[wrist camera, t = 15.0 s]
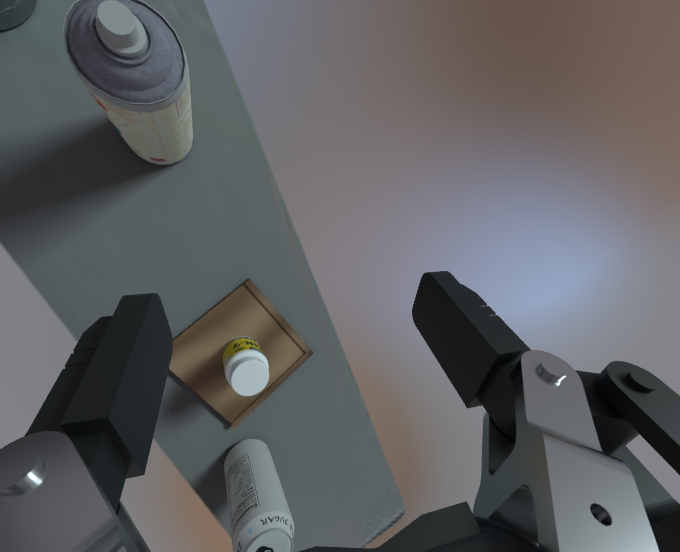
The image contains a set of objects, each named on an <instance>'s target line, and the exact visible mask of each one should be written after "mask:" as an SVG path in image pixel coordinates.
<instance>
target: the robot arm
mask: <svg viewBox="0 0 680 552" xmlns="http://www.w3.org/2000/svg"><path fill="white" fill-rule="evenodd" d="M35 5H36V0H0V30H7V29H10V28H13V27H16V26H18V25H20V24H21V23H23V22H25V21H26V20H27V18H28V17H29V16H30V15H31V14H32V12H33V10H34V7H35ZM412 316H413V320H414V323H415V325H416V327H417V329H418V330H419V332H420V333H421V335H422V337H423V338H424V340H425V341H426V343H427V345H428V346H429V348H430V349H431V351H432V353H433V354H434V356H435V357H436V359H437V360H438V362H439V363H440V365H441V367H442V368H443V370H444V372H445V373H446V375H447V376H448V378H449V379H450V381H451V383H452V384H453V386H454V388H455V389H456V391H457V392H458V394H459V396H460V397H461V399H462V400H463V402H464V403H465V405H466V407H467V408H471V407H476V406H481V405H483V407H484V408H485V410H486V413H485V415H484V417H483V442H482V471H481V473H482V475H481V483H480V487H479V490H478V493H477V496H476V499H475V504H474V509H473V513H472V512H471V509H470V507H469V505H468V503H467V502H463V503H459V504H456V505H453V506H450V507H446V508H443V509H439V510H436V511H433V512H429V513H426V514H423V515H421V516H420V517H418V518H417V519H416V520H414V521H413V522H412V523H410V524H409V525H408V526H406V527H405V528H404V529H403V530H401V531H400V532H399V533H397V534H396V535H394V536H393V537H392V538H391V539H389V540H388V541H387V542H385V543H384V544H383V545H381V546H380V547H377V548H373V549H366V548H342V547H318V546H316V547H313V548H309V549H306V550H303V551H299V552H680V504H679V503H678V502H676V501H675V500H674V499H673V498H672V496H671V495H670V494H669V493H668V492H667V491H666V490H665V489H664V488H663V486H662V485H661V484H660V483H659V482H658V481H657V480H656V479H655V478H654V477H653V475H652V474H650V472H649V471H648V470H647V469H646V468H645V467H644V466H643V465H642V464H641V462H640V461H639V460H638V459H637V458H636V457H635V456H634V455H633V454H632V453H631V452H630V450H629V449H628V448H627V447H626V446H625V445H627V444H628V443H629V442H630V441H632V440H633V439H634V438H635V437H636V436H638V435H639V434H640V435H641V436H642V437H643V438H644V439H645V440H646V441H647V442H648V443H649V444H650V445H651V446H652V447H653V448H654V449H655V450H656V451H657V452H658V453H659V454H660V455H661V456H662V457H663V459H665V461H666V462H668V464H669V465H670V466H671V467H672V468H673V469H674V470H675V471H676V472H677V473H678V474H679V475H680V396H679V395H678V394H677V393H675V392H674V391H673V390H672V389H671V388H669V387H668V386H667V385H666V384H664V383H663V382H662V381H661V380H659V379H658V378H657V377H656V376H654V375H653V374H651V373H650V372H648V371H646V370H644V369H642V368H640V367H638V366H636V365H633V364H630V363H627V362H621V361H615V362H611V363H609V364H608V365H607V366H606V367H605V369H604V370H603V371H602V372H601V373H600V374H598V373H590V372H582V371H575V370H574V369H573V368H572V367H571V366H570V365H569V364H568V363H566V362H565V361H563V360H562V359H560V358H559V357H557V356H555V355H553V354H550V353H548V352H544V351H539V350H531V349H529V347H527V346H526V345H525V344H524V342H523V341H522V340H521V339H520V338H519V337H518V336H517V335H516V334H515V333H514V332H513V331H512V330H511V329H510V328H509V327H508V326H507V325H506V324H505V323H504V321H503V320H502V319H501V318H500V317H499V316H496V314H495V312H494V311H493V310H492V309H491V308H490V307H489V306H488V307H487V304H486V303H485V302H484V301H483V299H482V298H480V296H479V295H478V294H477V293H475V292H474V291H472V290H470V289H469V288H467V287H466V286H464V285H462V284H460V283H459V282H458V281H457V280H456V279H455V278H454V276H453V275H452V274H451V273H449V272H448V271H440V272H428V273H424V274H423V276H422V278H421V281H420V284H419V287H418V291H417V294H416V298H415V301H414V304H413V308H412ZM172 351H173V339H172V333H171V330H170V327H169V324H168V321H167V318H166V314H165V311H164V308H163V305H162V302H161V299H160V297H159V295H158V294H157V293H151V294H138V295H126V296H123V297H122V298H121V300H120V302H119V304H118V306H117V308H116V310H115V312H114V314H113V316H107V317H101V318H99V319H98V320H97V321H96V322H95V323H94V324H93V325H92V326H90V327H89V328H88V329H87V330H86V331H85V332H84V333H83V334H82V336H81V338H80V339H79V341H78V343H77V345H76V347H75V348H74V353H73V354H71V356H70V357H69V359H68V361H67V363H66V364H65V369H63V370H62V371H61V373H60V375H59V377H58V379H57V380H56V382H55V384H54V386H53V388H52V389H51V391H50V393H49V394H48V396H47V398H46V400H45V402H44V403H43V405H42V407H41V409H40V411H39V413H38V414H37V416H36V418H35V419H34V421H33V423H32V425H31V426H30V428H29V430H28V432H27V433H26V435H25V436H24V437H22V438H20V439H18V440H16V441H14V442H12V443H10V444H8V445H6V446H5V447H3V448H2V449H0V552H150V550H149V548H148V547H147V545H146V543H145V541H144V540H143V538H142V536H141V535H140V533H139V531H138V530H137V528H136V526H135V524H134V523H133V521H132V519H131V518H130V516H129V514H128V513H127V511H126V509H125V507H124V506H123V504H122V502H121V501H120V497H121V494H122V490H123V486H124V483H125V479H126V478H132V477H136V476H141V475H144V473H145V469H146V465H147V460H148V456H149V452H150V448H151V443H152V439H153V435H154V430H155V426H156V422H157V417H158V413H159V409H160V404H161V400H162V396H163V392H164V387H165V383H166V379H167V374H168V370H169V366H170V361H171V357H172Z"/></svg>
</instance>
